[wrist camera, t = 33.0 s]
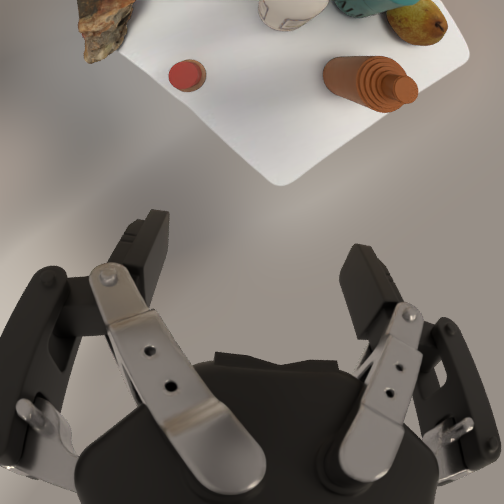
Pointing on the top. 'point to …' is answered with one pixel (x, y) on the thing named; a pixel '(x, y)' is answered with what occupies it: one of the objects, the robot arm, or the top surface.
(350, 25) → the top surface
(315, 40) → the top surface
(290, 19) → the bath foam
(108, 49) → the rock
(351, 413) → the robot arm
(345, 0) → the beverage bottle
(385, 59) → the sauce bottle
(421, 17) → the fruit
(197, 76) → the cap
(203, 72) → the coaster
